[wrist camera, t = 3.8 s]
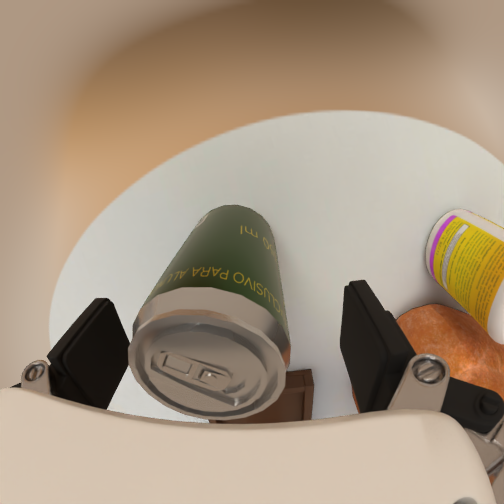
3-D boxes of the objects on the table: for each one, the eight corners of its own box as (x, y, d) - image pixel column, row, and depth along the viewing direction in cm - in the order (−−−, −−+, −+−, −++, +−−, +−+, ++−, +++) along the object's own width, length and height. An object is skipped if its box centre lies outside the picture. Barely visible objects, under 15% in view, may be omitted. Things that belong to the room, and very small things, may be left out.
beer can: (185, 258, 19) (114, 389, 8) (212, 189, 17) (136, 273, 6) (253, 287, 20) (248, 435, 9) (287, 222, 18) (329, 347, 7)
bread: (460, 398, 28) (494, 468, 13) (333, 391, 25) (361, 524, 10) (514, 330, 23) (566, 395, 8) (413, 282, 20) (519, 424, 5)
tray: (238, 468, 33) (237, 478, 31) (199, 375, 24) (195, 391, 22) (303, 464, 33) (304, 475, 31) (311, 369, 23) (314, 385, 21)
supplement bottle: (419, 286, 20) (504, 393, 8) (423, 211, 17) (551, 294, 5) (471, 271, 19) (555, 350, 7) (478, 203, 17) (588, 263, 5)
